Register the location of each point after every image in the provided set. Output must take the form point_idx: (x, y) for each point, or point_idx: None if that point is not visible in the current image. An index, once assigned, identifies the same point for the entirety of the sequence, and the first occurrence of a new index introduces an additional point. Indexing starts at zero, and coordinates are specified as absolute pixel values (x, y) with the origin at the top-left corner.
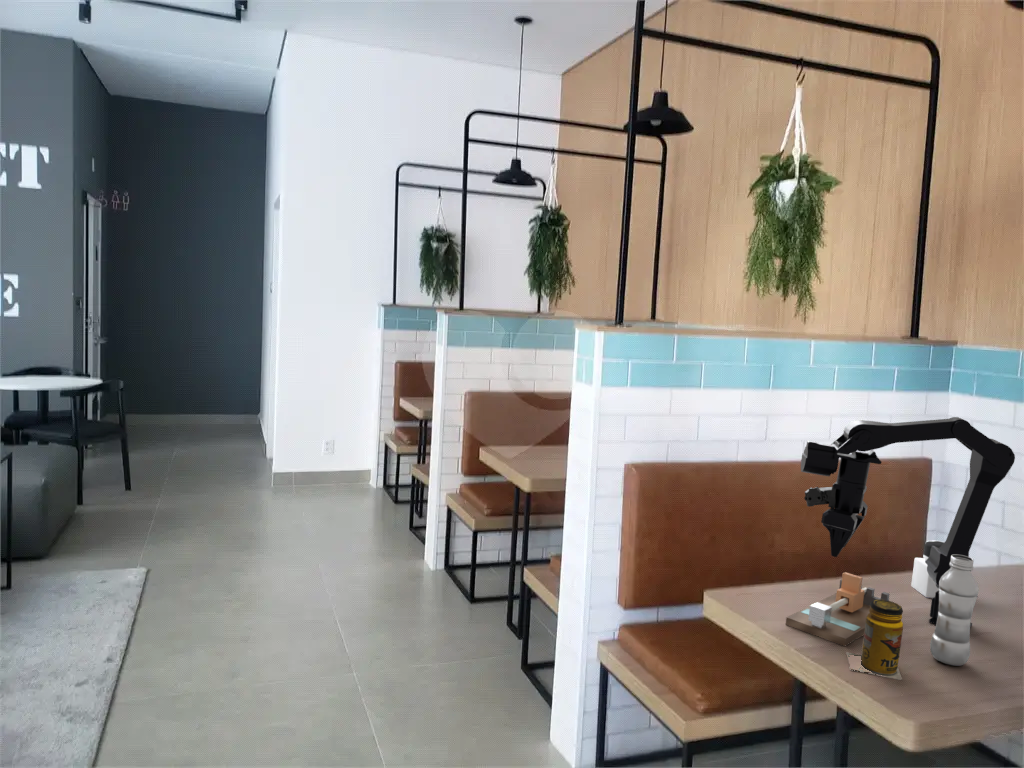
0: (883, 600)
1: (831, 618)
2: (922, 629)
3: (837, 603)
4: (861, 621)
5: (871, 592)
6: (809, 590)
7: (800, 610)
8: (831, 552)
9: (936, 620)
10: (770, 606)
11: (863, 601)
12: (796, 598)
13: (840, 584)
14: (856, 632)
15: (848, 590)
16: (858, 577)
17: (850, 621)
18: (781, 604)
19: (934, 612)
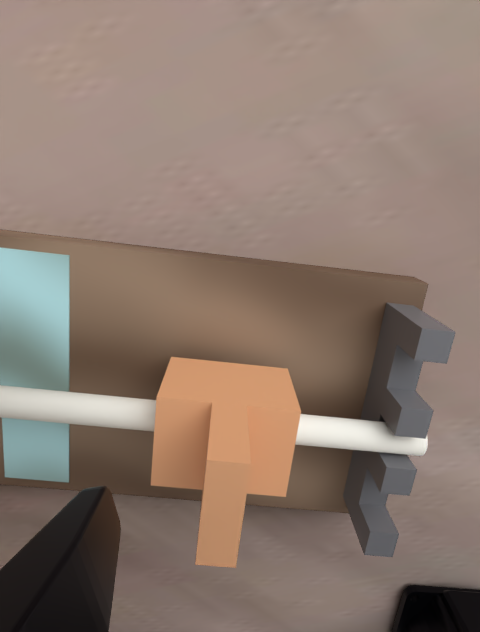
0: None
1: (50, 375)
2: (323, 582)
3: (52, 419)
4: (136, 466)
5: (376, 481)
6: (446, 131)
7: (18, 237)
8: (56, 518)
9: (424, 607)
10: (39, 61)
11: (364, 419)
12: (271, 123)
13: (410, 324)
14: (4, 483)
15: (205, 442)
16: (208, 553)
17: (97, 437)
18: (119, 96)
19: (444, 624)
